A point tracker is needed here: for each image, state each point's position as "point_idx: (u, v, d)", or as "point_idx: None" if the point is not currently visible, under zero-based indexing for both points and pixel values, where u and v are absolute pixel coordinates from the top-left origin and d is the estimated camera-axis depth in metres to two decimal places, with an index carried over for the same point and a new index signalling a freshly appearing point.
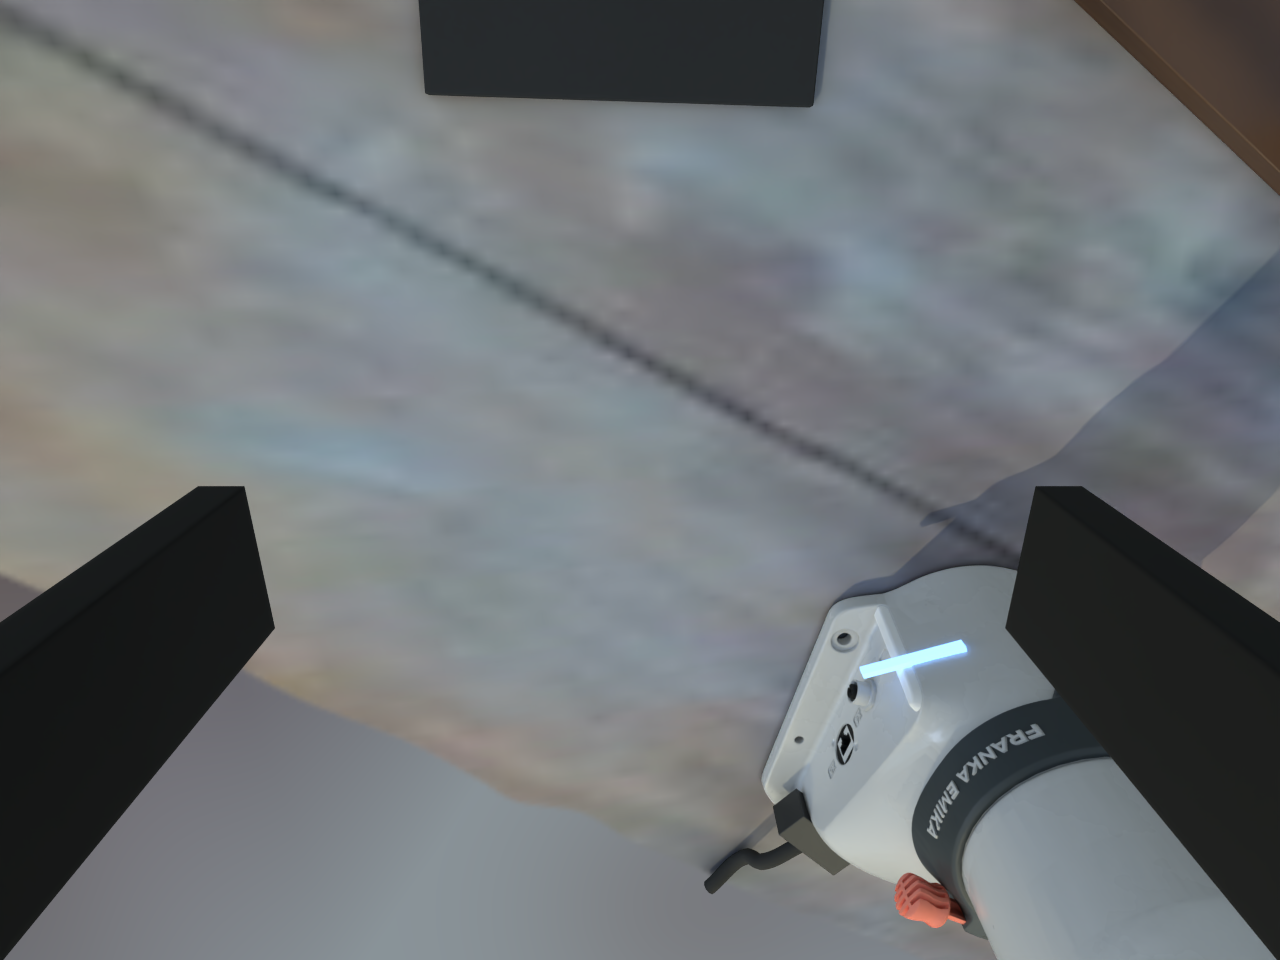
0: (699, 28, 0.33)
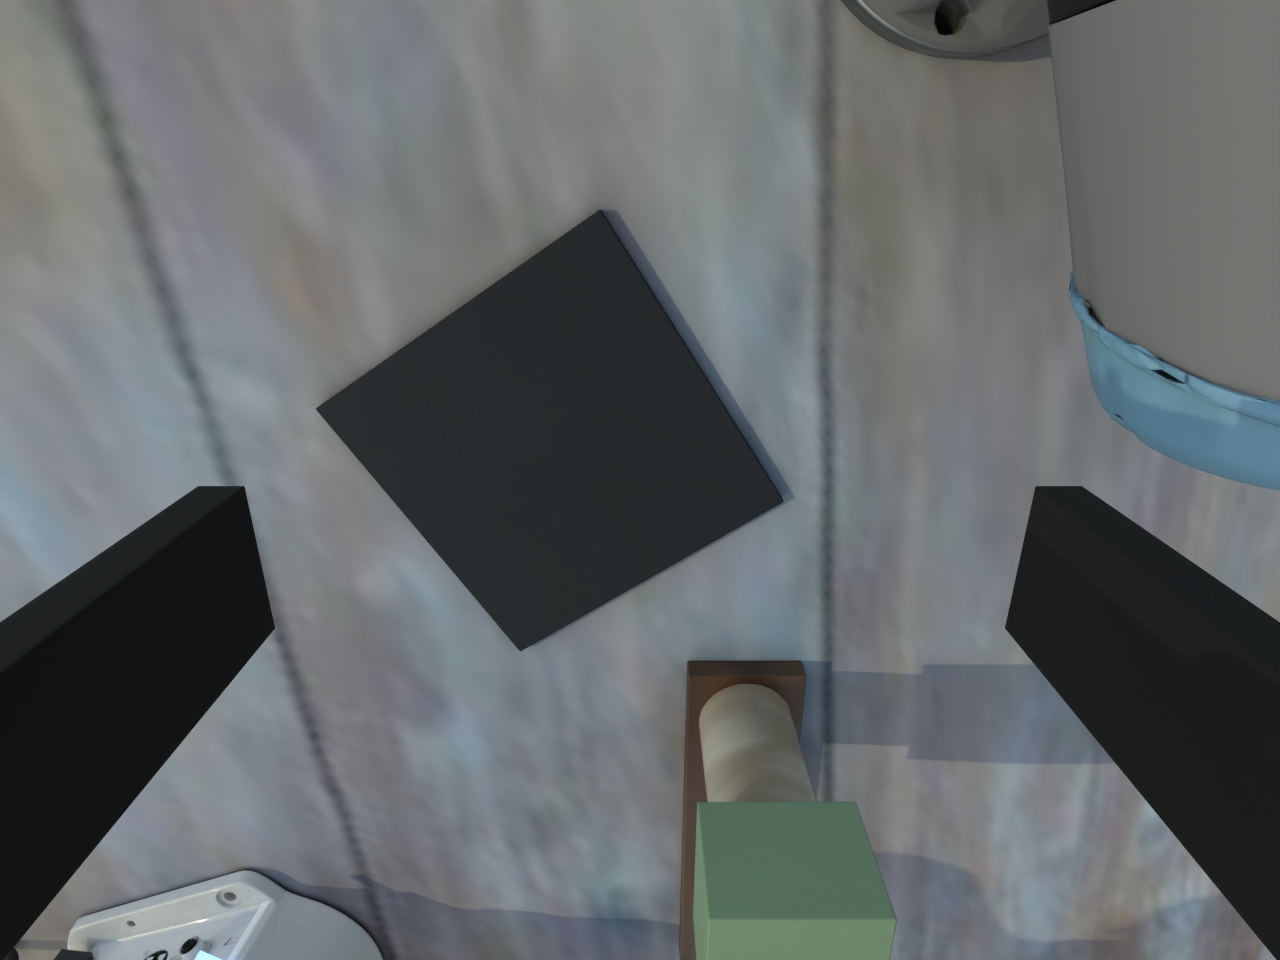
0: (504, 560, 0.42)
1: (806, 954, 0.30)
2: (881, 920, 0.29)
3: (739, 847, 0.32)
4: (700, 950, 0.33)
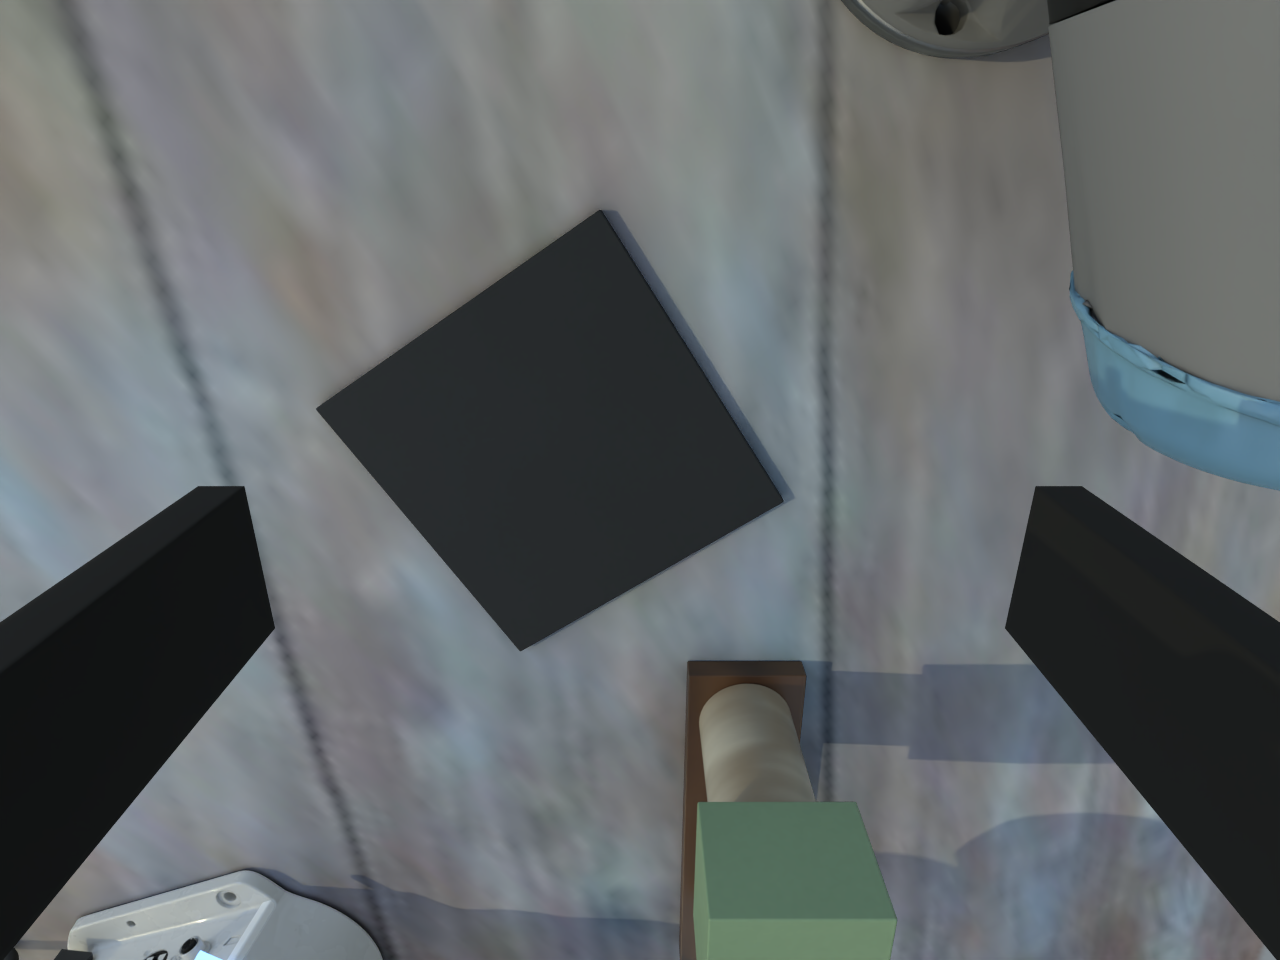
0: (504, 560, 0.42)
1: (806, 954, 0.30)
2: (881, 920, 0.29)
3: (739, 847, 0.32)
4: (700, 950, 0.32)
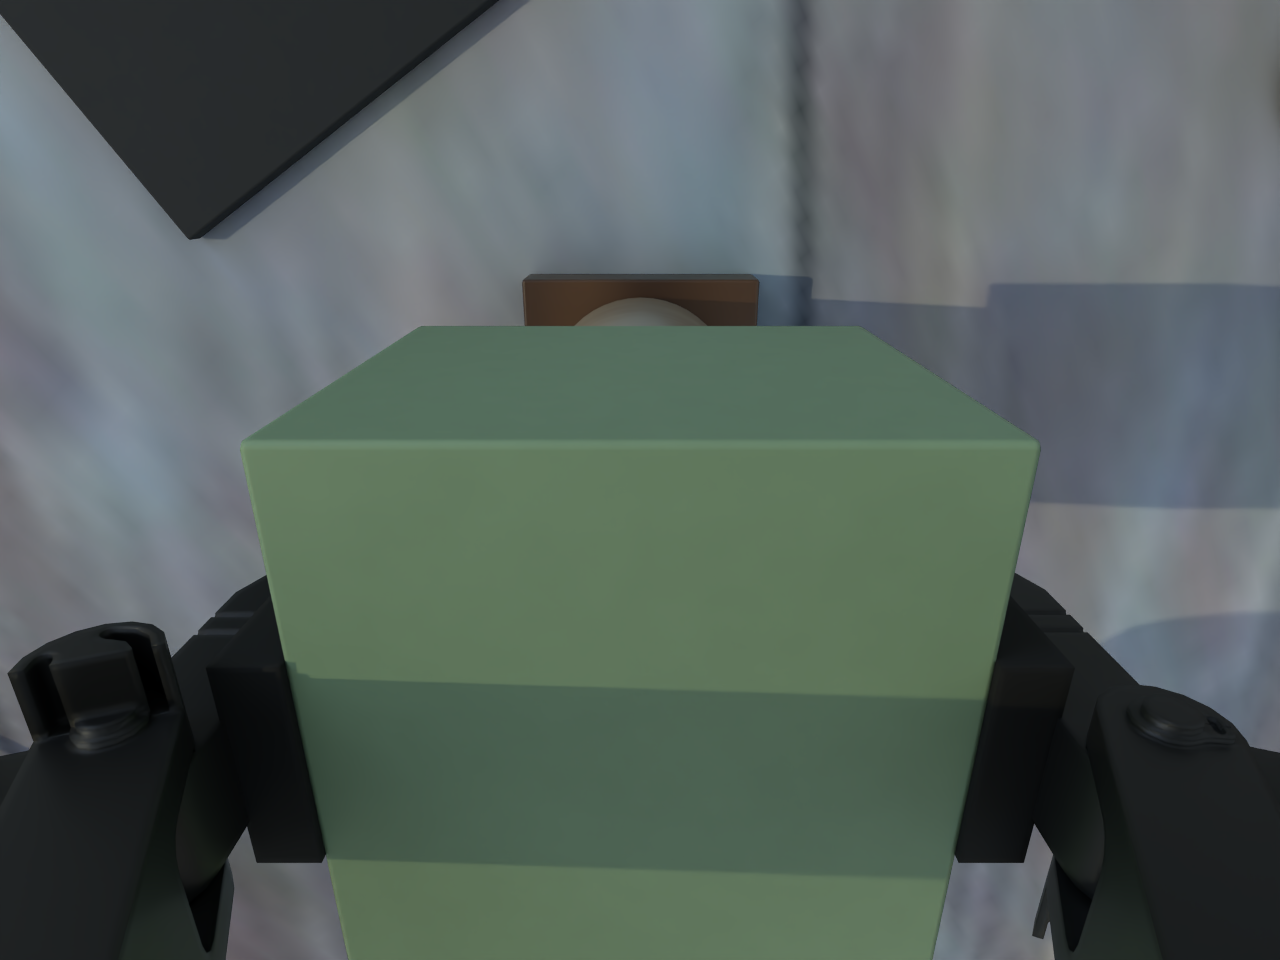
0: None
1: (669, 624, 0.07)
2: (975, 447, 0.07)
3: (485, 359, 0.10)
4: None
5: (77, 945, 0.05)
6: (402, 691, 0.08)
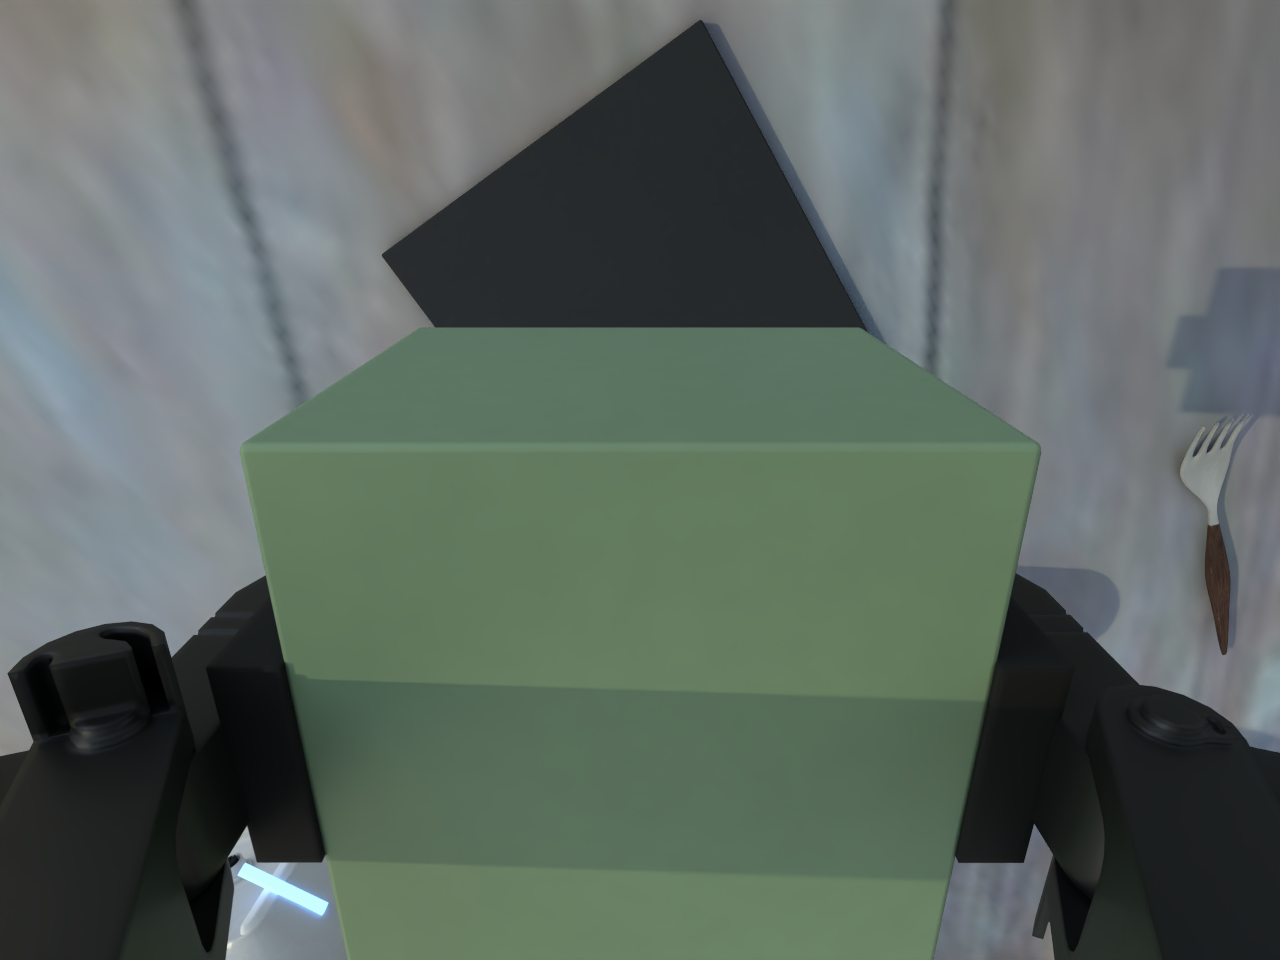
0: None
1: (669, 628, 0.07)
2: (976, 450, 0.07)
3: (485, 360, 0.10)
4: None
5: (77, 946, 0.05)
6: (402, 693, 0.08)
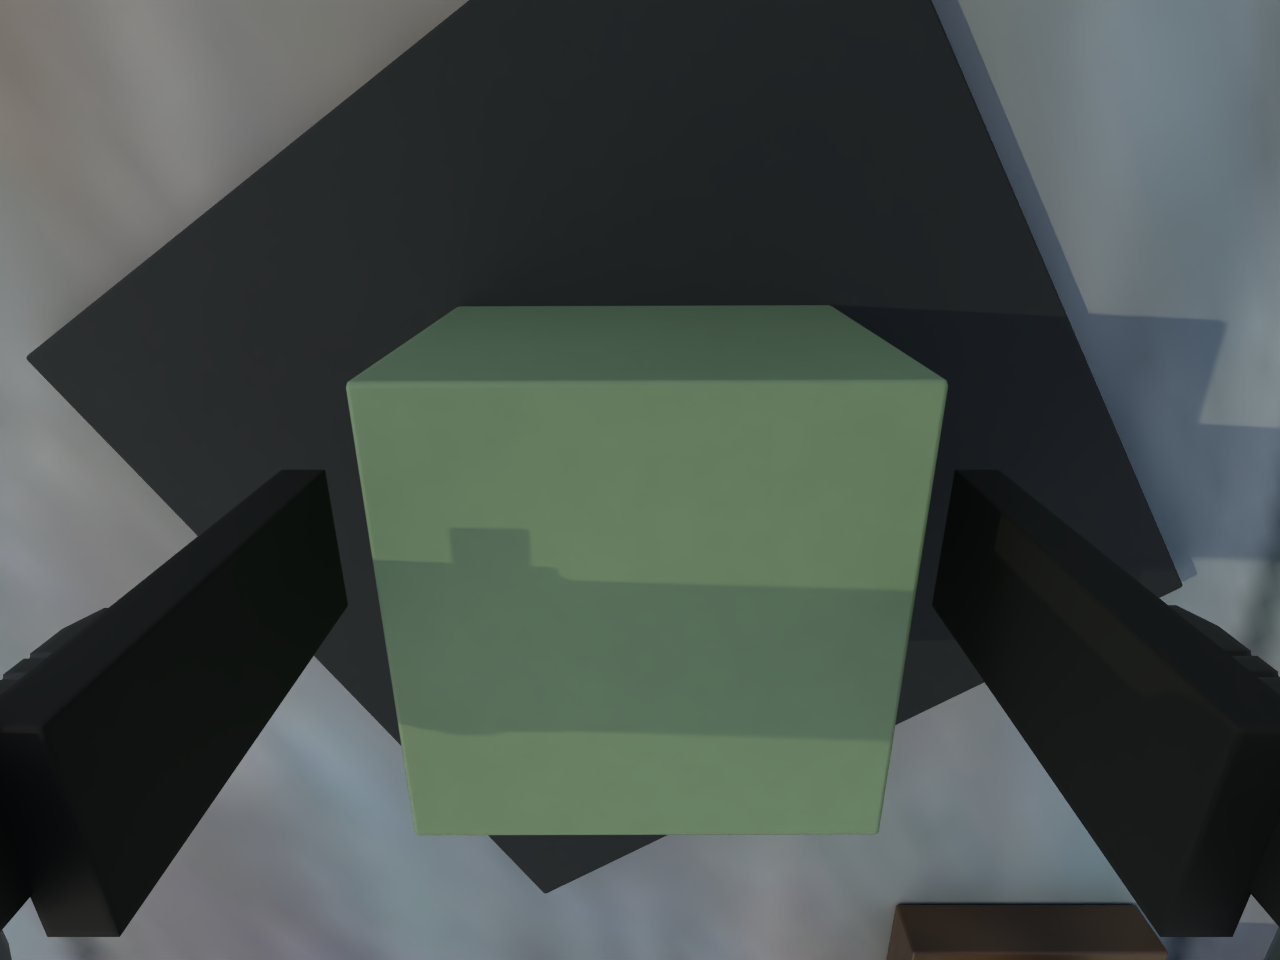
0: None
1: (669, 526, 0.10)
2: (899, 385, 0.09)
3: (519, 329, 0.12)
4: None
5: None
6: (462, 582, 0.10)
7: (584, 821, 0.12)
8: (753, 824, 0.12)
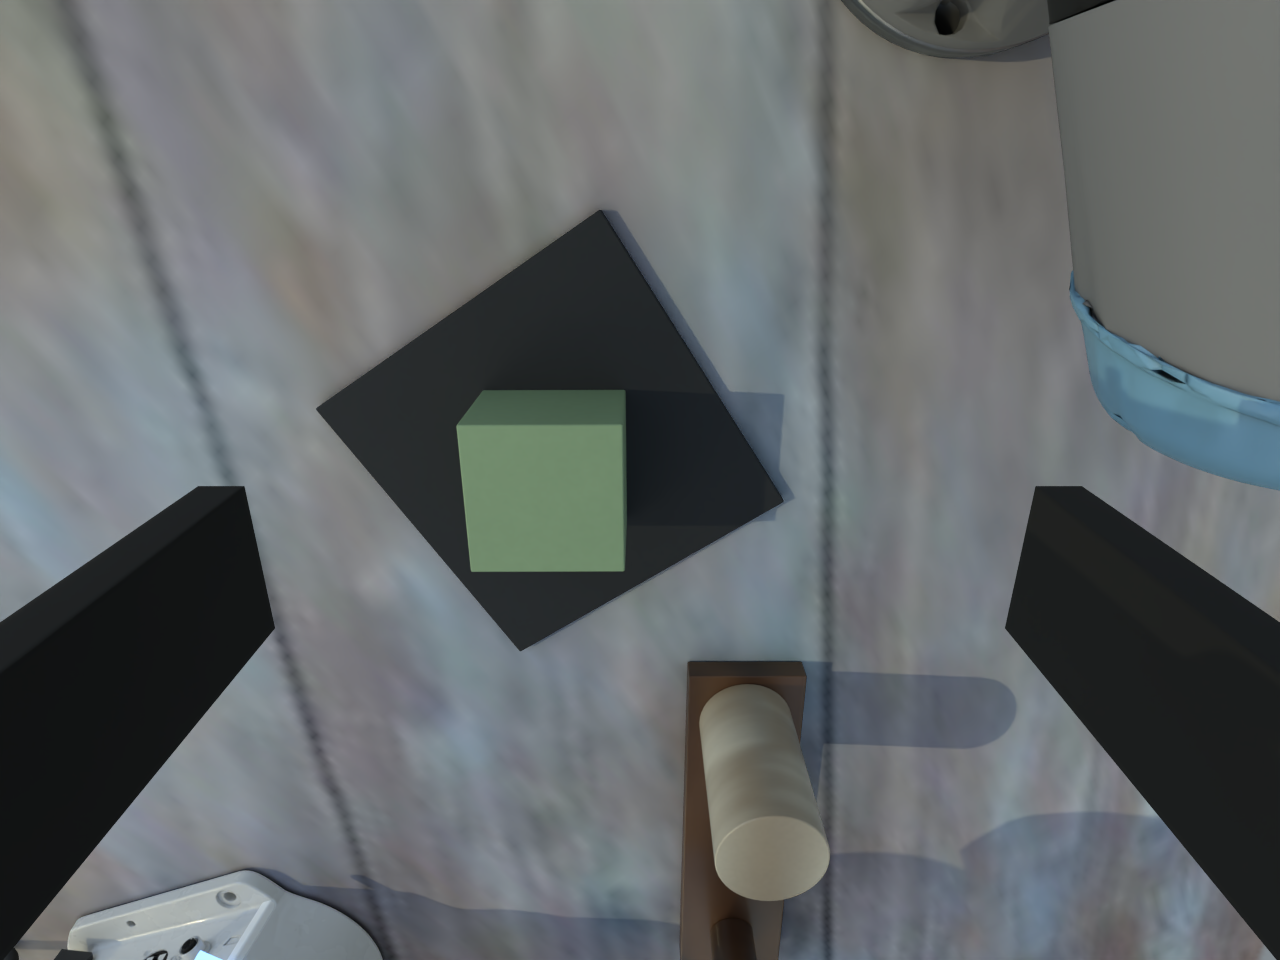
0: None
1: (548, 466, 0.33)
2: (609, 426, 0.33)
3: (505, 403, 0.36)
4: None
5: None
6: (488, 483, 0.34)
7: (526, 566, 0.35)
8: (582, 567, 0.35)
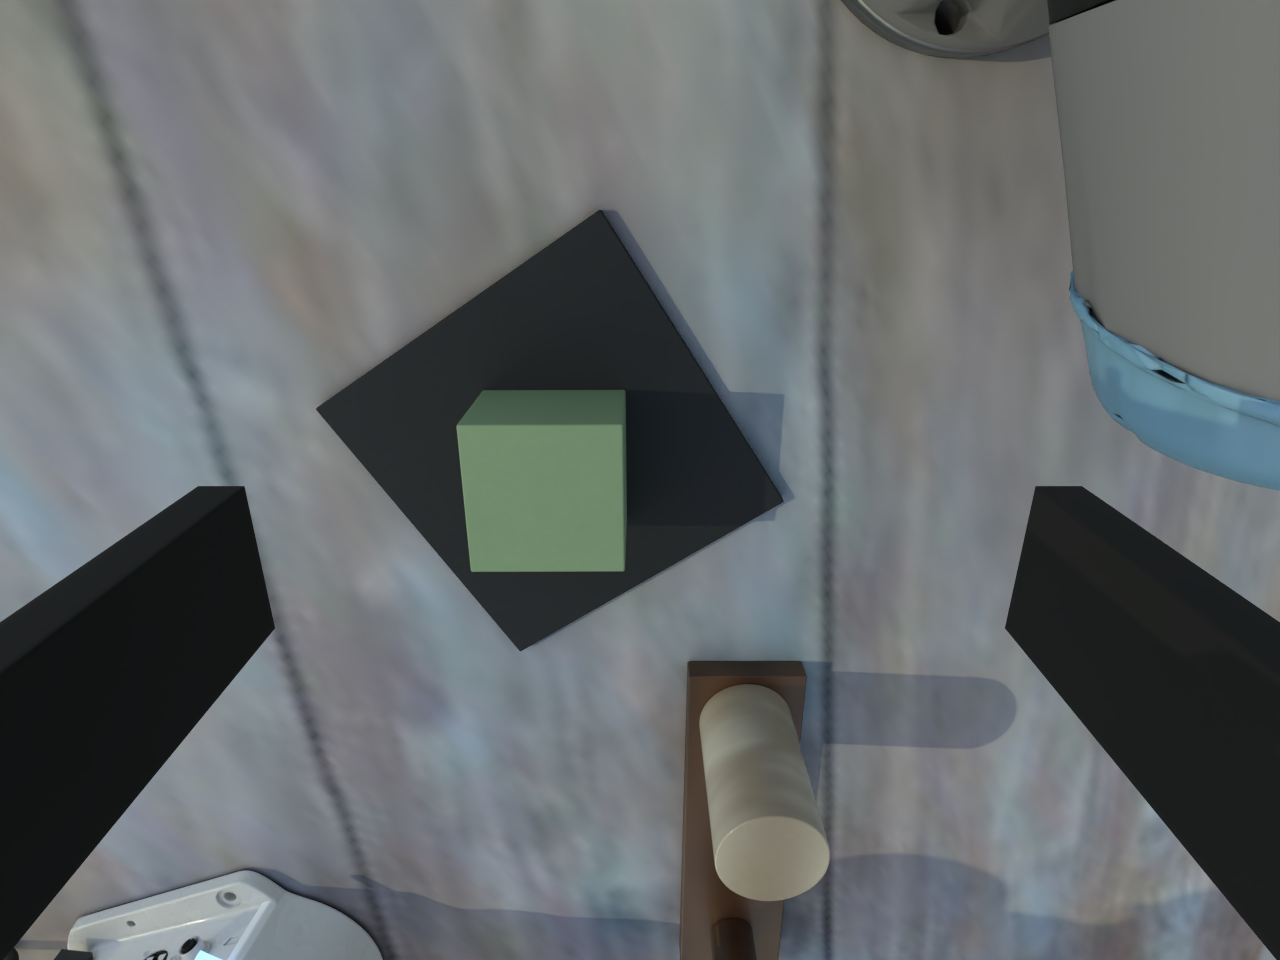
0: None
1: (548, 466, 0.33)
2: (609, 426, 0.33)
3: (505, 403, 0.36)
4: None
5: None
6: (488, 483, 0.34)
7: (526, 566, 0.35)
8: (582, 567, 0.35)
